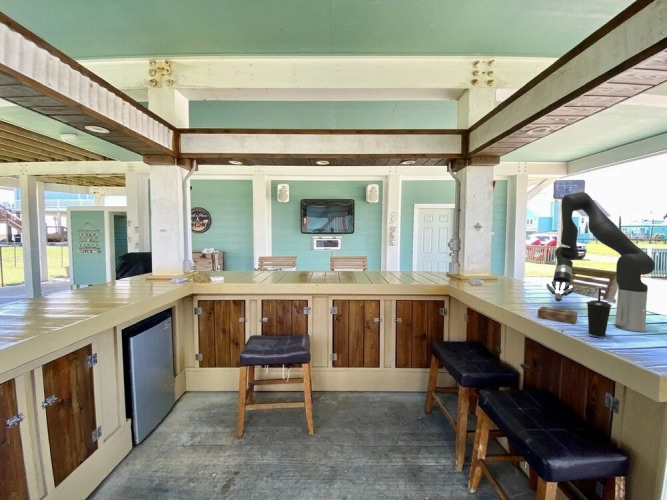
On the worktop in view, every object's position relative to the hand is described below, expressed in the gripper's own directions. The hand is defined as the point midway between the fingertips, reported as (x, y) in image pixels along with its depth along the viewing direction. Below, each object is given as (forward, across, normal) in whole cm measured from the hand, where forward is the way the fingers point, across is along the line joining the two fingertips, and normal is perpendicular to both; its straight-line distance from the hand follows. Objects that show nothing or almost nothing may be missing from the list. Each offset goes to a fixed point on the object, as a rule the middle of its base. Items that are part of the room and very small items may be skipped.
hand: (558, 300), depth 158 cm
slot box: (+18, +2, -8) cm, 19 cm away
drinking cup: (+29, +17, -19) cm, 39 cm away
